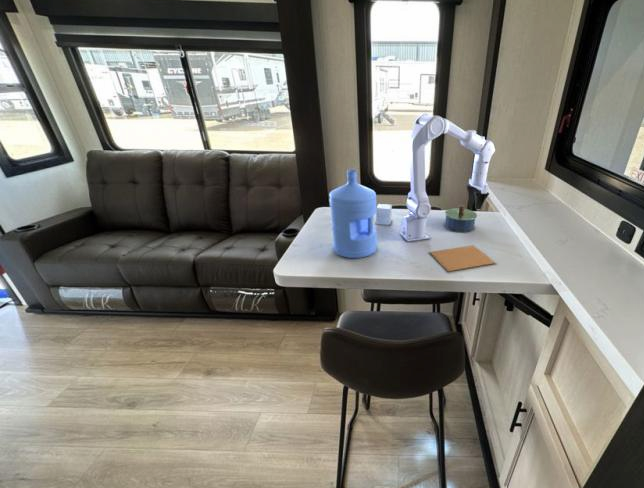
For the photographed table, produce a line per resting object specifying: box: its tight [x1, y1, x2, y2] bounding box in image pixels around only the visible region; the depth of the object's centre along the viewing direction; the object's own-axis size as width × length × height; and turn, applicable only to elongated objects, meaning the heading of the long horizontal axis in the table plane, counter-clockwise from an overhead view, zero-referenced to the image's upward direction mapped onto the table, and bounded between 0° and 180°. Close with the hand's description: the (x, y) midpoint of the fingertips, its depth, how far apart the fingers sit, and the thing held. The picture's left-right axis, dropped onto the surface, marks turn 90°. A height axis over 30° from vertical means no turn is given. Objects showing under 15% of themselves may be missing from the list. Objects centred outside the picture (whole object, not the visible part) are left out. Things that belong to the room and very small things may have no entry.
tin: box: [444, 215, 476, 233], centre depth 132 cm, size 12×12×6 cm
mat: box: [429, 245, 495, 273], centre depth 108 cm, size 18×14×1 cm
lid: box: [444, 204, 478, 220], centre depth 130 cm, size 13×13×5 cm
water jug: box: [329, 169, 378, 259], centre depth 105 cm, size 16×16×28 cm
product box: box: [375, 203, 393, 226], centre depth 133 cm, size 6×6×7 cm
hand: (474, 205), depth 127 cm, fingers open, 7 cm apart
